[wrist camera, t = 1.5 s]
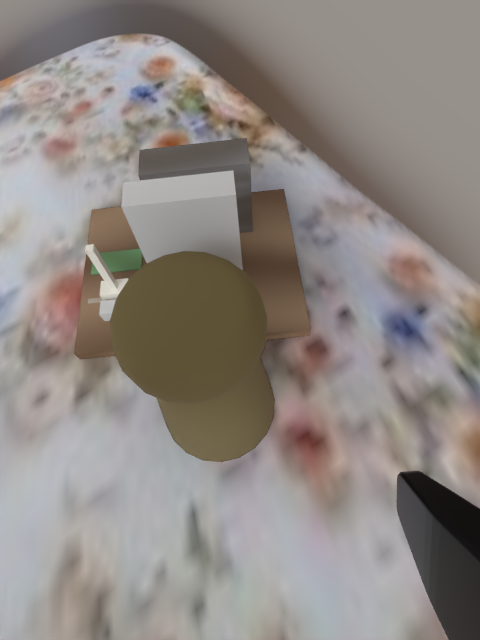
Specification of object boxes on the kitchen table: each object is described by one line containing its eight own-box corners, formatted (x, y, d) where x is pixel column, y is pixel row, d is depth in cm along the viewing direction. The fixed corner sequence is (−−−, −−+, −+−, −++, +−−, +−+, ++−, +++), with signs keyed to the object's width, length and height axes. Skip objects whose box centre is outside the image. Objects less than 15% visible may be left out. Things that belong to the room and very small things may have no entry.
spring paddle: (247, 326, 23) (235, 194, 14) (103, 341, 23) (-1, 220, 14) (244, 293, 24) (231, 151, 15) (106, 308, 24) (10, 175, 15)
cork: (151, 375, 23) (64, 257, 13) (250, 337, 23) (238, 200, 14) (182, 481, 20) (102, 433, 10) (293, 434, 21) (317, 349, 11)
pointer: (132, 301, 24) (104, 254, 20) (105, 304, 24) (72, 257, 20) (132, 287, 24) (106, 238, 20) (107, 290, 24) (74, 241, 20)
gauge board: (309, 335, 23) (322, 273, 18) (80, 359, 23) (21, 305, 18) (283, 197, 28) (287, 116, 23) (96, 217, 28) (54, 141, 23)
